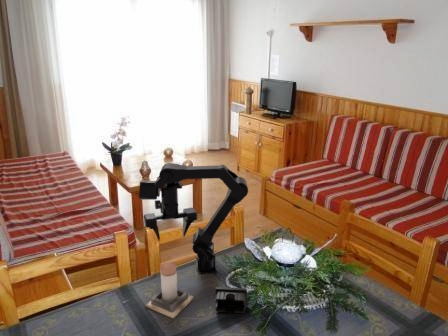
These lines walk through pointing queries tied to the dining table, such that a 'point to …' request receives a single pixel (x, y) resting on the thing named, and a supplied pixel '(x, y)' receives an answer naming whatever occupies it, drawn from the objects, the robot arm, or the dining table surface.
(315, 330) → the dining table surface
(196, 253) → the robot arm
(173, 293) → the white bottle
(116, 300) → the dining table surface
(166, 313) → the socket plate
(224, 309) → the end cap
